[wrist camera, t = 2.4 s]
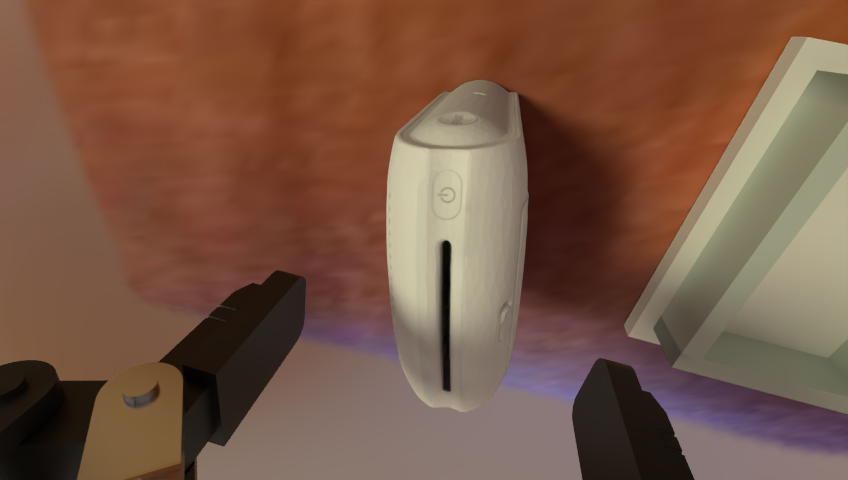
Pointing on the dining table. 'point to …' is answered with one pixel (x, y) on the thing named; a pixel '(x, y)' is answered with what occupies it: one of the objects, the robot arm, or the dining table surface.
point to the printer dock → (767, 245)
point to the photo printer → (458, 242)
